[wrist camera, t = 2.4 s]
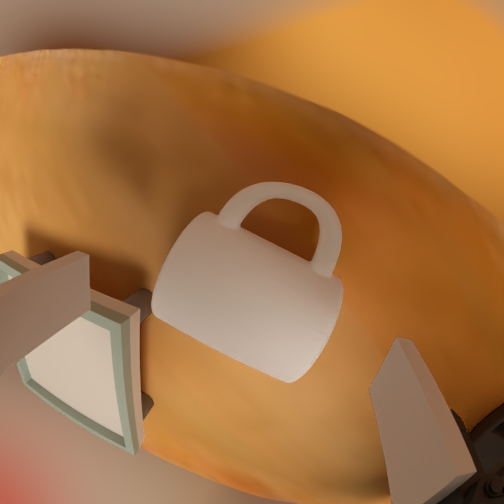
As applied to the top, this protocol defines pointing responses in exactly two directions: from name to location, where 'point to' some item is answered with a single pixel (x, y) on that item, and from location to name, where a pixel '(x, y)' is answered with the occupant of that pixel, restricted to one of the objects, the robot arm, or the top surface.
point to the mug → (254, 285)
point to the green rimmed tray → (91, 362)
